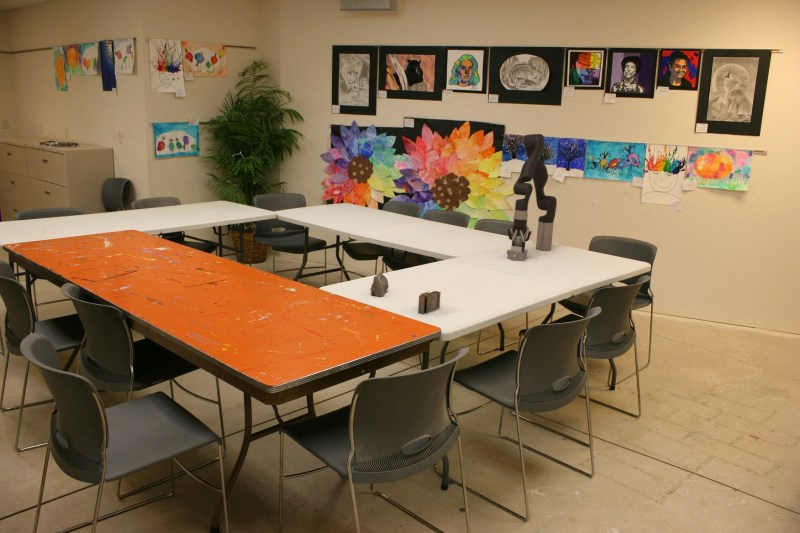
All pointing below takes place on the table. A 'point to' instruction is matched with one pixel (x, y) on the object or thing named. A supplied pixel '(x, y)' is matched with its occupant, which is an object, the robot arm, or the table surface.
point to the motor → (517, 253)
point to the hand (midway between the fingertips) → (518, 247)
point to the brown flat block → (429, 302)
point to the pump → (518, 241)
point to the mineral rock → (379, 285)
